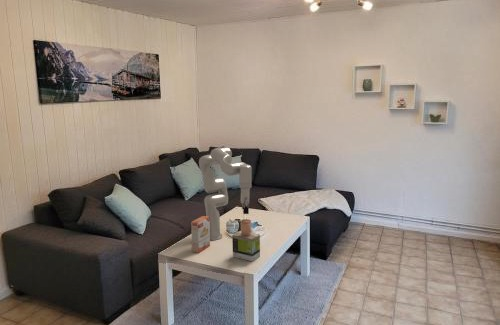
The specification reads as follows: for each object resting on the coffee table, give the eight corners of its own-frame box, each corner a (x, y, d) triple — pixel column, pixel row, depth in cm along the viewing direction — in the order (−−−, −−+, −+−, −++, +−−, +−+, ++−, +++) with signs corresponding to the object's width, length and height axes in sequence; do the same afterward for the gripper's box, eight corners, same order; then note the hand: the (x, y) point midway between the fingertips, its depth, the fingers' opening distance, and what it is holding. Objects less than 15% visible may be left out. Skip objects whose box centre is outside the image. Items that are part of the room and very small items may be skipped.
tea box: (260, 256, 247) (260, 234, 244) (252, 262, 238) (251, 239, 236) (240, 251, 255) (240, 229, 252) (232, 256, 246) (231, 234, 244)
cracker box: (199, 253, 251) (198, 223, 247) (191, 252, 254) (190, 221, 250) (210, 245, 264) (209, 216, 260) (203, 244, 266) (202, 215, 262)
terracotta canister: (241, 236, 241) (241, 222, 239) (240, 232, 247) (240, 219, 245) (251, 236, 241) (251, 222, 239) (250, 232, 247) (250, 219, 245)
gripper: (238, 181, 246) (238, 207, 250) (240, 188, 229) (240, 216, 233) (250, 181, 247) (250, 206, 250) (252, 188, 230) (252, 215, 233)
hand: (245, 211), depth 241 cm, fingers open, 9 cm apart
